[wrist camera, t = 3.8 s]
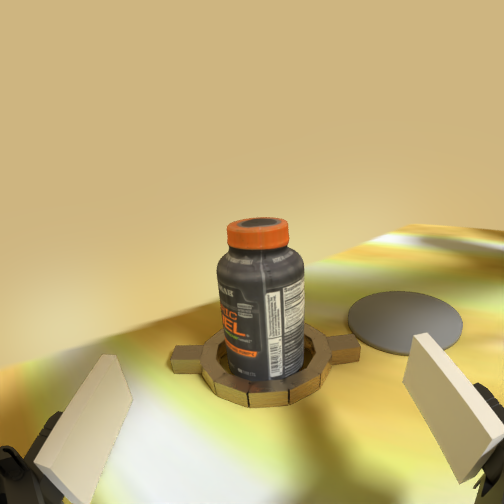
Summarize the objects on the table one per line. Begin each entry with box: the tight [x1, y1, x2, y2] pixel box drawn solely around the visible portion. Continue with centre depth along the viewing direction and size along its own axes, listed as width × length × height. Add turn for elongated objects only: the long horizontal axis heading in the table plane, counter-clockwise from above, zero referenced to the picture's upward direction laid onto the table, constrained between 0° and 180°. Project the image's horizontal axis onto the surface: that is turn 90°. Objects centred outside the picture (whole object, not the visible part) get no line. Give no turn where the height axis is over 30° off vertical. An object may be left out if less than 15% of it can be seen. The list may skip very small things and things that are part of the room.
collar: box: [170, 323, 361, 408], centre depth 23 cm, size 15×10×1 cm
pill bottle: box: [217, 217, 305, 381], centre depth 21 cm, size 6×6×11 cm
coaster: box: [348, 291, 463, 356], centre depth 26 cm, size 12×12×1 cm
